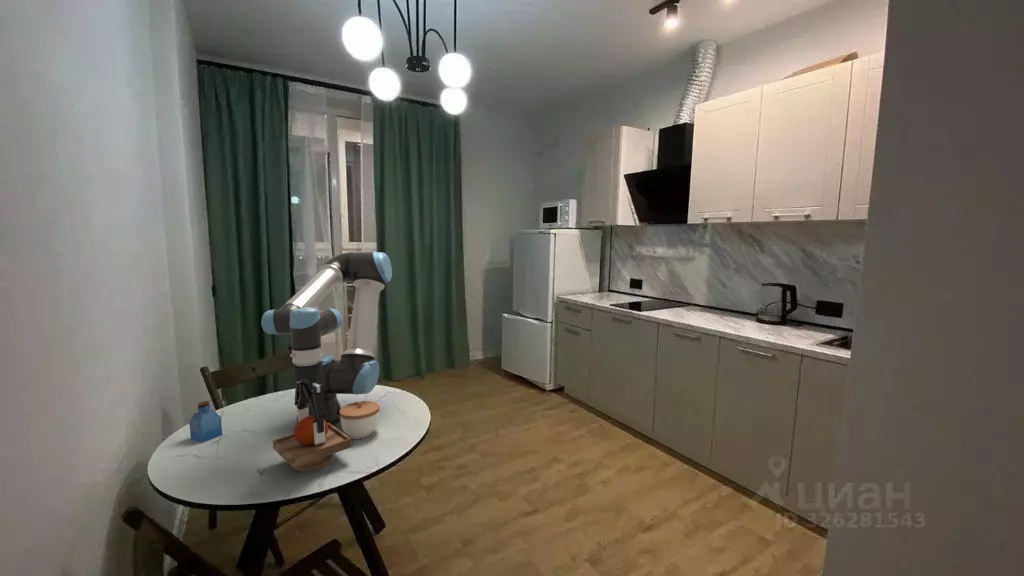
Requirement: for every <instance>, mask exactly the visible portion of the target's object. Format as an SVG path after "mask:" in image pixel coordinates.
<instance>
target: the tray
mask: <svg viewBox="0 0 1024 576" xmlns="http://www.w3.org/2000/svg"><path fill="white" fill-rule="evenodd" d="M327 425H328V433H327V435H326V437H325V440H326V441H325V442H322V443H319V444H316V445H315V444H314V445H303V444H300V443H299V442H297V441H296V439H295V437H294V433H292V434H288V435H285V436H282V437H279V438H276V439H273V440H272V447H273V448H272V449H274V451H275V452H276V453H277V454H278V455H279V456H280V457H281V458H282V459H283V460H284V462H286V463H287V464H288V465H289V466H290V467H291V468H292V469H294V470H296V471H298V472H303V473H304V472H306V473H308V472H314V471H317V470H320V469H323V468H325V467H326V466H328V465H329V464H330V463H332V461H333V454H336V453H340V452H342V451H344V450H346V449H347V450H348V449H350V448H352V447H353V445H352V444H353V443H352V442H353V440H352V439H353V438H351V437H350V436H349V435H347V434H346V433H345V432H344V431H341V430H340V429H338V428H337V427H336V426H334V425H331V424H330V423H327Z"/></svg>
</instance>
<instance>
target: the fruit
mask: <svg viewBox="0 0 1024 576" xmlns="http://www.w3.org/2000/svg"><path fill="white" fill-rule="evenodd" d="M312 421H314V416H307V417H305V418H304V419H302V420H301V421H299V422H298V423H297V422H296V424H295V426H294V429H293V434H294V437H295V439H296V441H297V442H299V443H300V444H303V445H314V444H315V442H314V426H313V423H312ZM324 423H325V437H326V435H327V433H328V425H327V422H326V421H325V420H324Z"/></svg>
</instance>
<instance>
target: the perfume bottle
mask: <svg viewBox="0 0 1024 576" xmlns="http://www.w3.org/2000/svg"><path fill="white" fill-rule="evenodd" d="M197 405H198V406H197V412H195V413H194V414H193V415H192V416H191V418H190V420H189V430H190V431H189V433H190V440H192V441H195V442H196V443H197V442H198V443H200V444H203V443H206V442H208V441H210V440H211V441H212V440H213V439H216V438H219V437H221V436H223V427H222V426H223V425H222V418H221V416H220V414H219V413H217V411H216V410H212V409H211V407H212V406H211V404H210V400H204V401H203V400H202V401H199V402H198V403H197Z"/></svg>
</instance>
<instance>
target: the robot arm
mask: <svg viewBox="0 0 1024 576" xmlns="http://www.w3.org/2000/svg"><path fill="white" fill-rule="evenodd" d="M392 267H393V266H392V263H391V260H390V258H389V256H388V255H387V254H386V253H385V252H379V251H378V252H377V251H371V252H370V251H369V252H368V251H365V252H360V251H359V252H358V251H357V252H353V251H349V252H344V253H340V254H337V255H336V256H333V257H332V258H330V259H329V260H327V261H325V262H324V263H323V264H322V265H321V266H320V267H318V269H317V272H316V274H315V275H314V276H313V277H312V278H311V279H310V280H309V281H308V282H307V283H305V284H304V285H303V286H302V287H301V288H300V289H299V290H298V291H297V292H296V293H295V294H294V295H293V296H292V297H291V298H290V299H289V300H287V302H286V303H284V304H283V306H281V307H280V308H279V309H269V310H267V311H265V312H264V313H263V315H262V317H261V321H260V322H261V327H262V330H263V332H265V333H266V334H269V335H277V336H280V335H290V341H291V352H292V353H290V355H289V356H290V358H291V359H292V364H293V365H292V374H293V375H292V376H293V378H294V379H295V391H294V392H295V393H294V403H293V404H294V406H295V407H296V408H297V417H296V424H297V423H298V422H299V421H301V420H302V419H304V418H305V417H307V416H314V421H312V423H313V426H314V442H315V445H316V444H319V443H322V442H325V441H326V440H325V423H324V420H325V421H326V422H327V423H330V424H331V425H333V426H334V425H337V424H338V423H339V421H340V413H339V411H340V409H341V408H342V406H341V403H340V401H339V399H338V397H337V396H338V395H356V396H358V395H366V394H369V393H371V392H372V391H373V390H374V388H375V387H376V385H377V383H378V380H379V375H380V364H379V362H378V361H376V356H375V354H374V353H372V350H373V343H374V335H375V329H376V323H377V315H378V314H377V313H378V307H379V306H378V305H379V301H380V293H381V291H383V290H384V289H385V286H386V283H388V282H389V283H390V282H391V281H392V277H393V268H392ZM344 283H352V285H353V286H354V287H355V288H356V289H355V296H354V300H353V308H352V313H351V321H350V327H349V333H348V340H347V345H346V346H347V347H346V350H345V351H344V352H342V353H341V355H340V360H336V357H335V355H332V354H327V355H323V350H322V341H321V340H322V338H321V337H325V336H326V335H330V334H332V333H334V332H335V331H337V330H339V329H340V328H341V326H342V324H343V317H342V314H341V313H340V311H339V310H338V309H335V308H330V307H329V308H324V309H318V308H317V306H318V305H320V303H321V302H322V301H323V299H325V298H326V297H327V295H328V294H329V293H330V292H331V291H332V290H333V289H334V288H338V287H340V286H341V285H342V284H344ZM340 422H341V421H340Z"/></svg>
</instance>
